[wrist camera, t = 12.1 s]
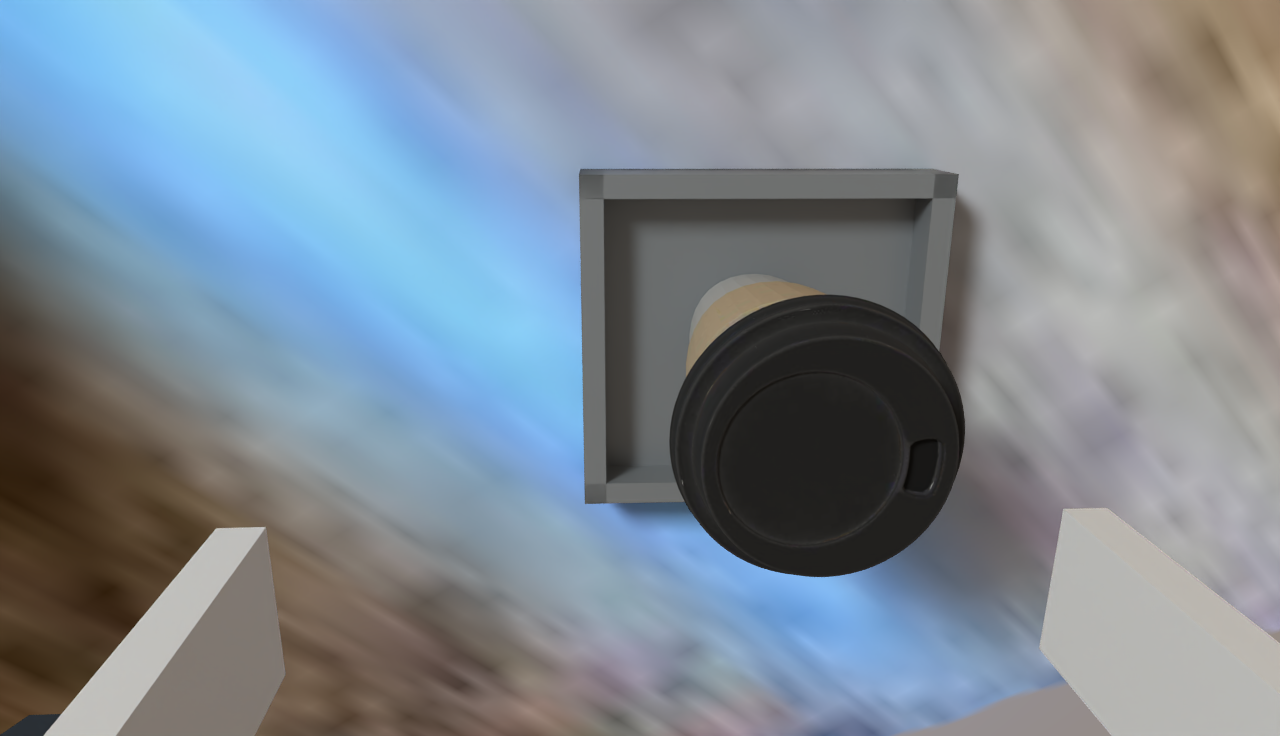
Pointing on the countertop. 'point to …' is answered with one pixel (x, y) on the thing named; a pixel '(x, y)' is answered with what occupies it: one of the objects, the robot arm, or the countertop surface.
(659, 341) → the tray
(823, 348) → the coffee cup
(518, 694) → the countertop surface
